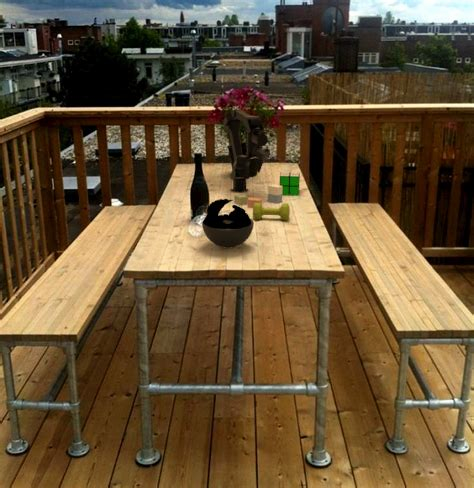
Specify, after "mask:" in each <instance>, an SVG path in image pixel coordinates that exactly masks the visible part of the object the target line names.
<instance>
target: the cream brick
mask: <svg viewBox="0 0 474 488" xmlns="http://www.w3.org/2000/svg"><path fill="white" fill-rule="evenodd" d="M268 194H272V195H277V196H278V195H281V194H282V186H280V184H276V183H274V184H273V183H272V184H269V185H267V195H268Z"/></svg>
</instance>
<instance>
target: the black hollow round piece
mask: <svg viewBox="0 0 474 488" xmlns="http://www.w3.org/2000/svg"><path fill="white" fill-rule="evenodd" d="M232 201H234V200H233V199H228V198H224V199H222V198H219V199H216V200H214V201H212V202H211V203H210V204H209V205H208V206H207V207H206V215H205V217H204V218H203V220H202V222H201V226H202V229H203V233H204V234H205V236H206V238H207V239H208V240H209V241H210V242H211V243H212V244H214V245H215V246H218V247H220V248H224V247H225V249H232V248H235V247H238V246H241V245H242V244H244V243H245V242H246V241H247V240H248V239H249V238H250V236H251V235H252V233H253V230H254V225H255V223H254V222H255V221H254V219H252V218H250V216H249V214H248V212H247V211H246V209H244V208H242V207H240V205H239V206H238V205H236V204H232V205H231V208H233V210H232V211H230V212H229V213H224V214H220V212H221V211H222V209H223V208H225V206H226V205H228V204H229V203H230V202H232ZM231 247H232V248H231Z"/></svg>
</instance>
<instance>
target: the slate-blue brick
mask: <svg viewBox="0 0 474 488" xmlns="http://www.w3.org/2000/svg"><path fill="white" fill-rule="evenodd" d="M267 202H268V203H275V204H280V203H282V202H283V195H282V194H281V195H278V196H277V195H272V194H268V193H267Z"/></svg>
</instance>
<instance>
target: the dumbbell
mask: <svg viewBox="0 0 474 488" xmlns="http://www.w3.org/2000/svg"><path fill="white" fill-rule="evenodd" d="M290 209H291V207H290V204H289V203H282V204H281V206H280V207H279V208H273V207H267V208H266V207H263V204H262V205H261V204H260V203H254V205H253V208H252V218H253V220H255V221H257V220H261V218H262V216H279V217H280V219H281V220H282V221H287V222H288V221H289V219H290V216H291V215H290Z"/></svg>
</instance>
